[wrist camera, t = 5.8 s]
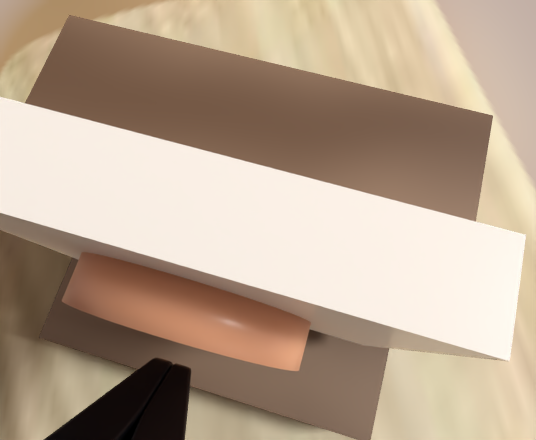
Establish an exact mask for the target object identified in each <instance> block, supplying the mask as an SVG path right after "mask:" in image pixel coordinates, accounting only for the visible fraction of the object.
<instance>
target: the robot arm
mask: <svg viewBox="0 0 536 440" xmlns="http://www.w3.org/2000/svg"><path fill="white" fill-rule="evenodd" d="M190 381H191V368H190V367H187V366H184V365H180V364H176V363H175V364H173V363H172V362H171V361H168V360H165V359H161V358H158V357H156V358H153V359H151V360H150V361H149V362H147V363H146V364H145V365H143V366H142V367H141V368H139V369H138V370H137V371H135V372H134V373H133V374H131V375H130V376H129V377H127V378H126V379H125V380H123V381H122V382H121V383H119V384H118V385H117V386H115V387H114V388H113V389H111V390H110V391H108V392H107V393H106V394H104V395H103V396H102V397H100V398H99V399H98V400H96V401H95V402H94V403H92V404H91V405H90V406H88V407H87V408H86V409H84V410H83V411H82V412H80V413H79V414H78V415H76V416H75V417H74V418H72V419H71V420H70V421H68V422H67V423H66V424H64V425H63V426H62V427H60V428H59V429H57V430H56V431H55V432H53V433H52V434H51V435H49V436H48V437H47V438H45V439H44V440H185V431H186V421H187V411H188V401H189V391H190Z"/></svg>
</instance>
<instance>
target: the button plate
mask: <svg viewBox="0 0 536 440" xmlns="http://www.w3.org/2000/svg"><path fill="white" fill-rule="evenodd" d="M0 230H2V231H5V232H7V233H10V234H12V235H15V236H18V237H20V238H23V239H25V240H28V241H31V242H33V243H36V244H38V245H41V246H44V247H46V248H49V249H52V250H54V251H57V252H59V253H62V254H65V255H67V256H70V257H72V258H75V259H78V263H77V265H76V267H75V270H74V272H73V275H72V277H71V279H70V282H69V284H68V287H67V289H66V291H65V294H64V296H63V299H62V302H63V303H65V304H67V305H69V306H71V307H73V308H76V309H78V310H81V311H83V312H86V313H88V314H91V315H94V316H97V317H99V318H102V319H105V320H108V321H111V322H114V323H117V324H120V325H123V326H126V327H129V328H132V329H135V330H138V331H141V332H145V333H148V334H151V335H154V336H158V337H161V338H164V339H167V340H171V341H174V342H177V343H181V344H184V345H188V346H191V347H195V348H198V349H202V350H205V351H209V352H213V353H216V354H220V355H224V356H227V357H231V358H235V359H239V360H243V361H247V362H251V363H255V364H259V365H264V366H268V367H273V368H278V369H283V370H289V371H299V369H300V365H301V361H302V357H303V353H304V349H305V345H306V341H307V337H308V333H309V330H314V331H317V332H320V333H324V334H327V335H330V336H334V337H337V338H341V339H344V340H347V341H351V342H354V343H357V344H361V345H365V346H374V347H383V348H392V349H402V350H411V351H420V352H429V353H438V354H447V355H457V356H466V357H475V358H484V359H493V360H502V361H510V355H511V347H512V339H513V331H514V324H515V316H516V308H517V300H518V293H519V285H520V277H521V270H522V262H523V254H524V246H525V239H526V235H525V234H521V233H517V232H513V231H510V230H506V229H502V228H498V227H494V226H491V225H487V224H483V223H479V222H475V221H471V220H468V219H464V218H460V217H456V216H452V215H449V214H445V213H441V212H437V211H433V210H430V209H426V208H422V207H418V206H414V205H411V204H407V203H403V202H399V201H395V200H391V199H388V198H384V197H380V196H376V195H372V194H369V193H365V192H361V191H357V190H353V189H350V188H346V187H342V186H338V185H334V184H331V183H327V182H323V181H319V180H315V179H311V178H308V177H304V176H300V175H296V174H292V173H289V172H285V171H281V170H277V169H273V168H270V167H266V166H262V165H258V164H254V163H251V162H247V161H243V160H239V159H235V158H231V157H228V156H224V155H220V154H216V153H212V152H209V151H205V150H201V149H197V148H193V147H190V146H186V145H182V144H178V143H174V142H171V141H167V140H163V139H159V138H155V137H151V136H148V135H144V134H140V133H136V132H132V131H129V130H125V129H121V128H117V127H113V126H110V125H106V124H102V123H98V122H94V121H91V120H87V119H83V118H79V117H75V116H71V115H68V114H64V113H60V112H56V111H52V110H49V109H45V108H41V107H37V106H33V105H30V104H26V103H22V102H18V101H14V100H11V99H7V98H3V97H0Z"/></svg>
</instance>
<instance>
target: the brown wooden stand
mask: <svg viewBox="0 0 536 440" xmlns="http://www.w3.org/2000/svg"><path fill="white" fill-rule="evenodd" d="M25 103H26V104H30V105H33V106H37V107H41V108H45V109H49V110H52V111H56V112H60V113H64V114H68V115H71V116H75V117H79V118H83V119H87V120H91V121H94V122H98V123H102V124H106V125H110V126H113V127H117V128H121V129H125V130H129V131H132V132H136V133H140V134H144V135H148V136H151V137H155V138H159V139H163V140H167V141H171V142H174V143H178V144H182V145H186V146H190V147H193V148H197V149H201V150H205V151H209V152H212V153H216V154H220V155H224V156H228V157H231V158H235V159H239V160H243V161H247V162H251V163H254V164H258V165H262V166H266V167H270V168H273V169H277V170H281V171H285V172H289V173H292V174H296V175H300V176H304V177H308V178H311V179H315V180H319V181H323V182H327V183H331V184H334V185H338V186H342V187H346V188H350V189H353V190H357V191H361V192H365V193H369V194H372V195H376V196H380V197H384V198H388V199H391V200H395V201H399V202H403V203H407V204H411V205H414V206H418V207H422V208H426V209H430V210H433V211H437V212H441V213H445V214H449V215H452V216H456V217H460V218H464V219H468V220H471V221H475V222H476V216H477V210H478V204H479V198H480V192H481V186H482V180H483V174H484V168H485V161H486V155H487V149H488V143H489V137H490V131H491V125H492V119H493V116H492V115H488V114H484V113H479V112H475V111H471V110H467V109H463V108H458V107H454V106H450V105H446V104H442V103H437V102H433V101H429V100H425V99H421V98H416V97H412V96H408V95H404V94H400V93H395V92H391V91H387V90H383V89H379V88H374V87H370V86H366V85H362V84H357V83H353V82H349V81H345V80H341V79H336V78H332V77H328V76H324V75H320V74H315V73H311V72H307V71H303V70H299V69H294V68H290V67H286V66H282V65H278V64H273V63H269V62H265V61H261V60H257V59H252V58H248V57H244V56H240V55H236V54H231V53H227V52H223V51H219V50H214V49H210V48H206V47H202V46H198V45H193V44H189V43H185V42H181V41H177V40H172V39H168V38H164V37H160V36H156V35H151V34H147V33H143V32H139V31H135V30H130V29H126V28H122V27H118V26H114V25H109V24H105V23H101V22H97V21H92V20H88V19H84V18H80V17H75V16H71V15H69V17H68V19H67V21H66V23H65V25H64V27H63V29H62V31H61V33H60V35H59V37H58V39H57V41H56V43H55V45H54V47H53V48H52V50H51V52H50V54H49V56H48V58H47V60H46V62H45V64H44V66H43V68H42V70H41V72H40V74H39V76H38V78H37V80H36V82H35V84H34V86H33V88H32V90H31V92H30V94H29V96H28V98H27V100H26V102H25ZM77 263H78V259H75V258H72V260H71V262H70V264H69V267H68V269H67V272H66V274H65V276H64V279H63V281H62V283H61V286H60V288H59V291H58V293H57V295H56V298H55V300H54V302H53V305H52V307H51V310H50V312H49V314H48V317H47V319H46V321H45V324H44V326H43V329H42V331H41V333H40V336H39V338H42V339H45V340H48V341H51V342H54V343H57V344H61V345H64V346H67V347H70V348H73V349H76V350H79V351H82V352H86V353H89V354H92V355H95V356H98V357H101V358H104V359H107V360H111V361H114V362H117V363H120V364H123V365H126V366H129V367H132V368H136V369H139V368H141V367H142V366H143V365H145V364H146V363H147V362H149V361H150V360H151V359H153V358H156V357H158V358H161V359H165V360H168V361H171V362H172V363H173V364H175V363H176V364H180V365H184V366H187V367H190V368H191V381H190V386H192V387H195V388H198V389H201V390H204V391H207V392H211V393H214V394H217V395H220V396H223V397H226V398H229V399H232V400H236V401H239V402H242V403H245V404H248V405H251V406H254V407H257V408H261V409H264V410H267V411H270V412H273V413H276V414H279V415H282V416H286V417H289V418H292V419H295V420H298V421H301V422H304V423H307V424H311V425H314V426H317V427H320V428H323V429H326V430H329V431H332V432H336V433H339V434H342V435H345V436H348V437H351V438H354V439H357V440H370V439H371V434H372V430H373V425H374V420H375V415H376V410H377V405H378V400H379V395H380V390H381V385H382V381H383V376H384V371H385V366H386V361H387V356H388V351H389V348H383V347H374V346H365V345H361V344H357V343H354V342H351V341H347V340H344V339H341V338H337V337H334V336H330V335H327V334H324V333H320V332H317V331H314V330H309V333H308V337H307V341H306V345H305V349H304V353H303V357H302V361H301V365H300V369H299V371H289V370H283V369H278V368H273V367H268V366H264V365H259V364H255V363H251V362H247V361H243V360H239V359H235V358H231V357H227V356H224V355H220V354H216V353H213V352H209V351H205V350H202V349H198V348H195V347H191V346H188V345H184V344H181V343H177V342H174V341H171V340H167V339H164V338H161V337H158V336H154V335H151V334H148V333H145V332H141V331H138V330H135V329H132V328H129V327H126V326H123V325H120V324H117V323H114V322H111V321H108V320H105V319H102V318H99V317H97V316H94V315H91V314H88V313H86V312H83V311H81V310H78V309H76V308H73V307H71V306H69V305H67V304H65V303H63V302H62V299H63V296H64V294H65V291H66V289H67V287H68V284H69V282H70V279H71V277H72V275H73V272H74V270H75V267H76V265H77Z"/></svg>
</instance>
